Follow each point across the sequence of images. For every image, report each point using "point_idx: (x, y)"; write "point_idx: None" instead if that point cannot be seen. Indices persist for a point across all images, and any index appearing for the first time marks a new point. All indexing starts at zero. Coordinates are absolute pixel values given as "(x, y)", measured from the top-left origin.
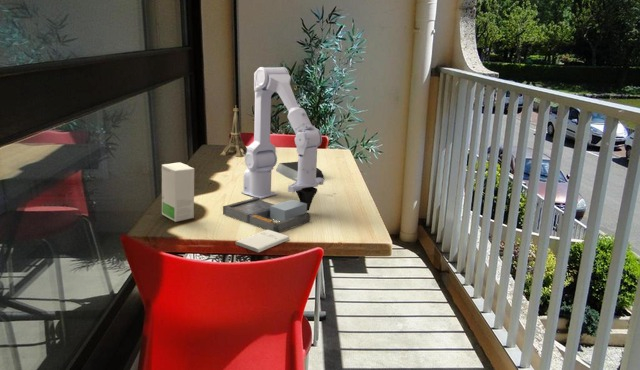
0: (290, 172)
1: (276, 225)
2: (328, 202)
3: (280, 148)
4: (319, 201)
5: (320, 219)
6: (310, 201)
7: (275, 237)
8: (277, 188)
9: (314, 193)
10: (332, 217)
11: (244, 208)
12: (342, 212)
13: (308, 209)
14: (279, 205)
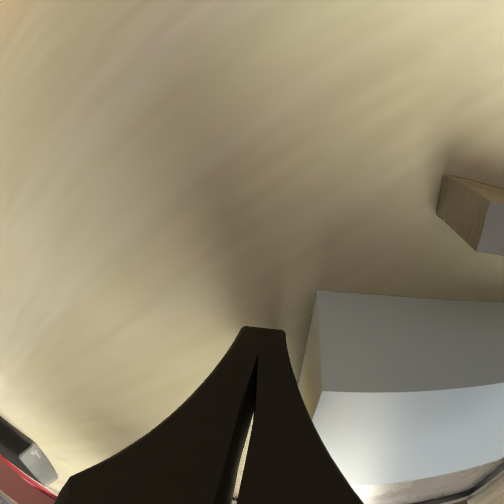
0: (39, 469)
1: None
2: (4, 309)
3: None
4: (34, 352)
5: (317, 114)
6: (231, 398)
7: None
8: None
9: (140, 481)
10: (161, 64)
11: (462, 481)
12: (18, 118)
13: (257, 334)
14: (483, 452)
